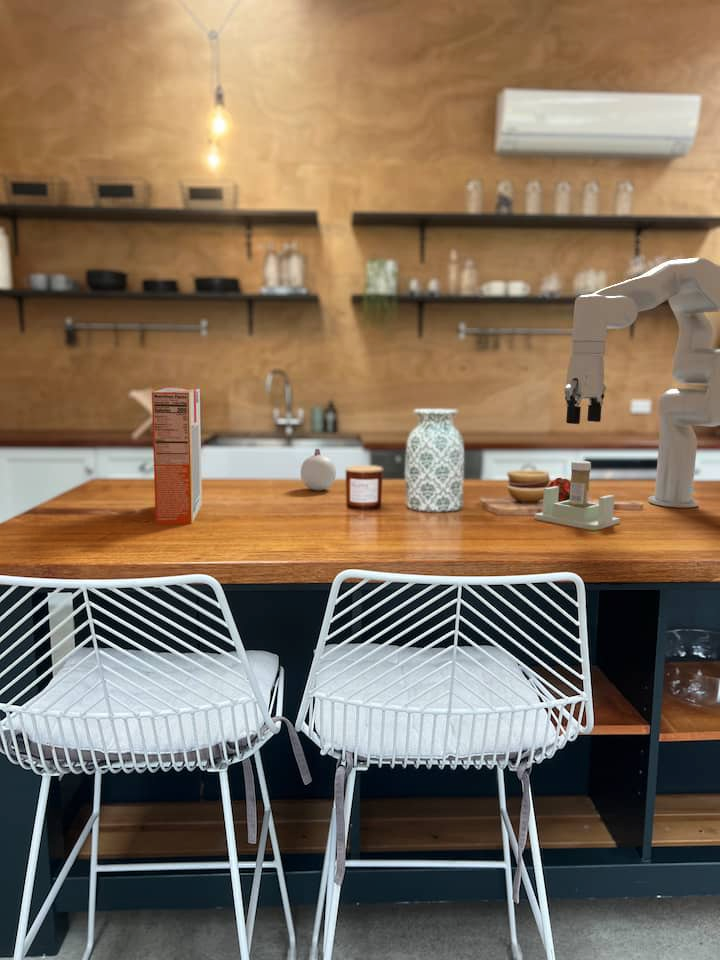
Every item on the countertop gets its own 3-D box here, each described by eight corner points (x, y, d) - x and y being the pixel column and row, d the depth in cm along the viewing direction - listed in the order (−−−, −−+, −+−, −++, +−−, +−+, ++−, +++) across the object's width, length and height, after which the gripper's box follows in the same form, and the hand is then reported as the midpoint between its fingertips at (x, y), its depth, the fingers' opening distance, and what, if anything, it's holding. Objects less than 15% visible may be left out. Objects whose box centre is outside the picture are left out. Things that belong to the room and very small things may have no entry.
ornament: (304, 486, 218) (304, 446, 216) (338, 487, 216) (338, 447, 214) (297, 492, 208) (297, 450, 206) (332, 493, 206) (332, 452, 204)
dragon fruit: (557, 508, 200) (569, 524, 188) (534, 490, 198) (544, 505, 187) (578, 484, 198) (591, 499, 186) (555, 466, 196) (567, 480, 185)
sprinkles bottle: (591, 516, 176) (595, 462, 174) (578, 518, 173) (582, 463, 171) (576, 513, 180) (580, 459, 177) (563, 515, 177) (567, 460, 175)
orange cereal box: (170, 504, 188) (167, 387, 183) (201, 503, 189) (199, 388, 184) (155, 524, 166) (151, 392, 161) (191, 523, 167) (188, 392, 162)
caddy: (560, 512, 186) (562, 484, 185) (619, 523, 175) (621, 493, 174) (534, 518, 178) (536, 490, 177) (594, 530, 167) (596, 500, 166)
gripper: (592, 350, 178) (587, 419, 181) (554, 349, 167) (550, 423, 169) (621, 350, 173) (615, 421, 176) (584, 349, 161) (579, 425, 164)
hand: (583, 422), depth 173 cm, fingers open, 9 cm apart
